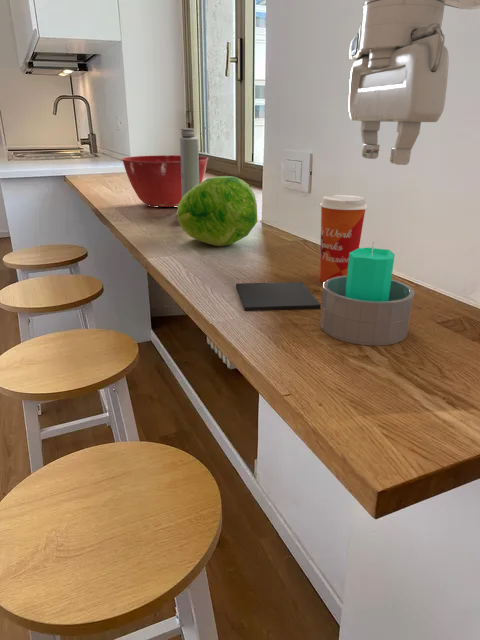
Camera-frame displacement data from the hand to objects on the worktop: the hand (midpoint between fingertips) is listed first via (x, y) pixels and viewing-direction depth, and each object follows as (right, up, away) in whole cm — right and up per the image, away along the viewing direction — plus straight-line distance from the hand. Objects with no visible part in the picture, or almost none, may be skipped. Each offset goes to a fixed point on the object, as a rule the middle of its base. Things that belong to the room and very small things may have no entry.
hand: (383, 161), depth 62 cm
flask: (-32, +8, +80) cm, 87 cm away
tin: (0, -21, +8) cm, 23 cm away
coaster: (-12, -16, +20) cm, 28 cm away
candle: (0, -21, +8) cm, 22 cm away
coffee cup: (0, -13, +29) cm, 32 cm away
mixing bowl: (-43, +19, +106) cm, 116 cm away
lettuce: (-24, -2, +54) cm, 59 cm away
